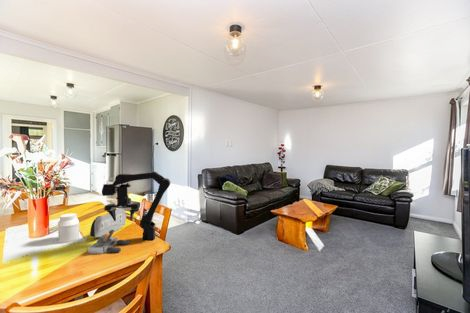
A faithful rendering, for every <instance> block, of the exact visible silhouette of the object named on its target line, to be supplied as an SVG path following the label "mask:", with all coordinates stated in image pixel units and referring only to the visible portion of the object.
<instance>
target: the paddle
mask: <svg viewBox="0 0 470 313" xmlns="http://www.w3.org/2000/svg"><path fill="white" fill-rule="evenodd" d="M104 238H105V236H104V235H102V236H101V237H98V239H97V241H96V242H97V243H96V242H95V243H96V244H95V243H94V244H95V245H96V246H98V245H100V244H101V243H102V241H103V240H104Z"/></svg>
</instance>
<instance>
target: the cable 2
mask: <svg viewBox="0 0 470 313" xmlns="http://www.w3.org/2000/svg"><path fill="white" fill-rule="evenodd" d="M130 244H131V241H130V240H129V239H122V240H121V239H118V241H117V244H116V245H120V246H121V245H124V246H125V245H127V246H128V245H130Z"/></svg>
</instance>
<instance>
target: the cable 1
mask: <svg viewBox="0 0 470 313" xmlns="http://www.w3.org/2000/svg"><path fill="white" fill-rule="evenodd" d="M121 250H122V247H114V246H113V247H109V248H107V251H106V252H107V253H120V252H121Z"/></svg>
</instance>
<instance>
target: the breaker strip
mask: <svg viewBox="0 0 470 313" xmlns="http://www.w3.org/2000/svg"><path fill="white" fill-rule="evenodd" d="M118 240H119V239H118V237H111V238H109V239H107V240H106V241H104V242H103V243H101V244H100V245H98V246H96V245H95V244H96V243H97V241H96V242H95V243H93V244H92V245H90V246H88V247H87V254H92V255H93V254H94V255H95V254H99V255H100V254H101V255H103V254H105V253H106V252H107V248H109V247H114V246H115V245H118V244H117V241H118Z"/></svg>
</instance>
